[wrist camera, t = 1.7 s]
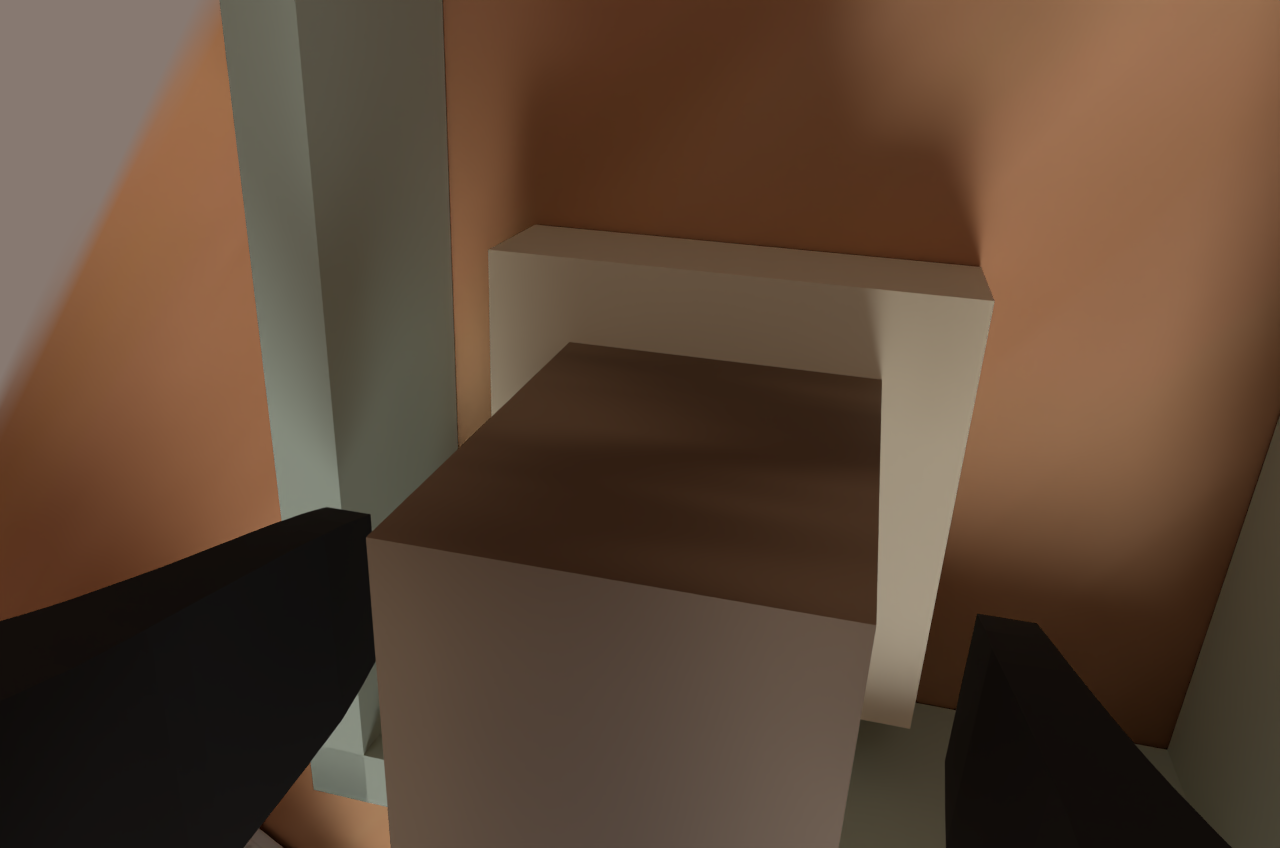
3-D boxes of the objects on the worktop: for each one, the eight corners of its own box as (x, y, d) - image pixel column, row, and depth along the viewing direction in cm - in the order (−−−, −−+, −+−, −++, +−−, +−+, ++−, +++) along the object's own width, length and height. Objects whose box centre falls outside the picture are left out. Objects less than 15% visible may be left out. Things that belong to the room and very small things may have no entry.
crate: (1521, -16, 11) (1813, -38, 8) (1214, 806, 16) (1305, 1022, 13) (379, -53, 14) (209, -83, 11) (420, 650, 19) (313, 789, 16)
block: (882, 379, 13) (876, 625, 8) (840, 649, 15) (811, 1005, 9) (569, 341, 14) (366, 537, 8) (565, 600, 16) (395, 898, 10)
